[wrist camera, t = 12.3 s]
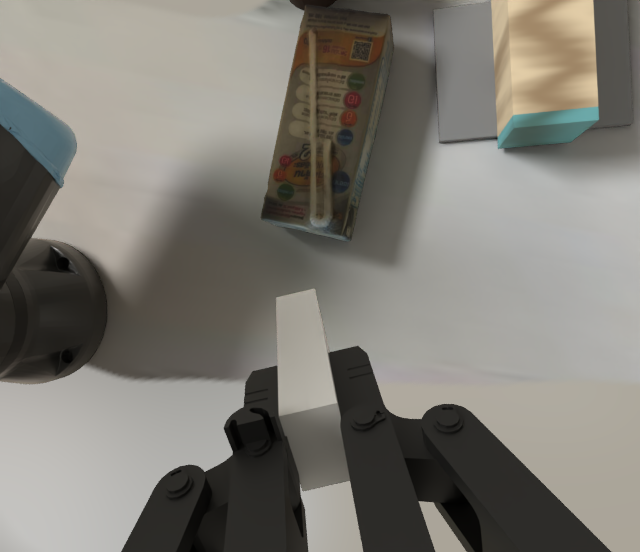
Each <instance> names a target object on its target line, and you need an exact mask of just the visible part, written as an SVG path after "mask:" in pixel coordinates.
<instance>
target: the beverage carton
mask: <svg viewBox="0 0 640 552" xmlns="http://www.w3.org/2000/svg"><path fill="white" fill-rule="evenodd" d="M393 50H394V45H393V34H392V25H391V18H390V16H389V15H388V14H380V13H369V12H364V11H355V10H350V9H336V8H326V7H321V6H313V5H305V11H304V16H303V19H302V22H301V26H300V31H299V36H298V41H297V45H296V49H295V54H294V59H293V63H292V68H291V73H290V78H289V83H288V87H287V92H286V97H285V102H284V107H283V111H282V116H281V121H280V126H279V131H278V136H277V141H276V146H275V150H274V155H273V160H272V165H271V170H270V175H269V181H268V190H267V193H266V195H265V198H264V205H263V209H262V213H261V220H263V221H266V222H269V223H271V224H273V225H275V226H279V227H287V228H293V229H298V230H301V231H305V232H309V233H313V234H318V235H322V236H327V237H331V238H336V239H339V240H343V241H351V237H352V233H353V229H354V225H355V219H356V214H357V209H358V205H359V201H360V197H361V193H362V188H363V184H364V179H365V175H366V171H367V167H368V163H369V159H370V154H371V150H372V146H373V142H374V138H375V134H376V129H377V125H378V121H379V117H380V112H381V108H382V103H383V99H384V94H385V90H386V85H387V81H388V76H389V71H390V65H391V61H392V54H393Z"/></svg>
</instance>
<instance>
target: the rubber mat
mask: <svg viewBox="0 0 640 552" xmlns="http://www.w3.org/2000/svg"><path fill="white" fill-rule="evenodd" d="M593 5H594V26H595V47H596V67H597V88H598V109H599V120H598V121H597V122H596V123H594V124H593V125H592V126H591V127H589V128H588V129H594V128H605V127H616V126H626V125H631V124H632V123H633V106H632V86H631V65H630V45H629V24H628V4H627V0H593ZM433 19H434V40H435V62H436V83H437V104H438V126H439V143H443V142H454V141H464V140H475V139H486V138H497V137H498V136H497V114H496V93H495V72H494V51H493V30H492V9H491V2H484V3H476V4H469V5H462V6H455V7H448V8H441V9H434V11H433Z"/></svg>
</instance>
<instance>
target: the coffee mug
mask: <svg viewBox="0 0 640 552" xmlns="http://www.w3.org/2000/svg"><path fill="white" fill-rule="evenodd" d="M335 1H337V0H290V2H291V3H292V4H294V5H295V6H296V7H298V8H300V9H302V10H305V5H313V6H321V7H326V8H327V7H329V6H330V5H332V4H333V3H334V2H335Z"/></svg>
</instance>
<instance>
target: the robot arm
mask: <svg viewBox="0 0 640 552" xmlns="http://www.w3.org/2000/svg"><path fill="white" fill-rule="evenodd" d="M76 148H77V143H76V138H75V135H74V133H73V131H72V130H71V128H70V127H69V126H68V125H67V124H66V123H64V122H63V121H62V120H60V119H59V118H58V117H56V116H55V115H53V114H52V113H50V112H49V111H47V110H46V109H45V108H43V107H42V106H40V105H39V104H37V103H36V102H34V101H33V100H32V99H30V98H29V97H27V96H26V95H24V94H23V93H21V92H20V91H18V90H17V89H15V88H14V87H13V86H11V85H10V84H8V83H7V82H5V81H4V80H2V79H1V78H0V381H2V382H10V383H20V384H40V383H45V382H49V381H53V380H56V379H59V378H62V377H65V376H68V375H70V374H72V373H74V372H75V371H77V370H78V369H80V368H81V367H82V366H83V365H84V364H85V363H86V362H87V361H88V360H89V359H90V358H91V357H92V355H93V354H94V353H95V351H96V349H97V348H98V346H99V344H100V341H101V339H102V336H103V333H104V330H105V325H106V317H107V305H106V297H105V292H104V289H103V285H102V283H101V280H100V278H99V276H98V274H97V272H96V270H95V269H94V267H93V266H92V265H91V263H90V262H89V261H88V260H87V259H86V258H85V257H84V256H83V255H82V254H81V253H80V252H79V251H77V250H76V249H74V248H73V247H71V246H69V245H67V244H64V243H62V242H59V241H55V240H47V239H37V238H31V237H32V235H33V233H34V232H35V230H36V228H37V226H38V225H39V223H40V221H41V220H42V218H43V216H44V214H45V213H46V211H47V209H48V208H49V206H50V204H51V202H52V201H53V199H54V197H55V195H56V194H57V192H58V190H59V189H60V188H62V187H63V184H64V180H63V178H64V176H65V174H66V172H67V170H68V168H69V166H70V164H71V162H72V160H73V158H74V156H75V153H76ZM276 321H277V364H278V366H274V367H269V368H265V369H261V370H257V371H253V372H252V373H251V375H250V376H249V378H248V380H247V381H246V385H245V397H244V407H243V408H241V409H239V410H238V411H236V412H235V413H234V414H232V415H231V416H230V417H229V419H228V420H227V421H226V424H225V426H224V430H225V433H226V435H227V438H228V440H229V443H230V445H231V448H232V450H233V455H232V456H231V457H230V458H229V459H227V460H226V461H225V462H223V463H221V464H220V465H218V466H216V467H214V468H212V469H210V470H208V471H206V472H204V471H203V470H202V469H201V468H200V467H198V466H195V465H186V466H180V467H178V468H176V469H174V470H172V471H170V472H169V473H168V474H166V475H165V476H164V477H163V478H162V479H161V480H160V481H159V483H158V484H157V485H156V487H155V488H154V490H153V492H152V494H151V496H150V498H149V500H148V502H147V504H146V506H145V508H144V509H143V511H142V513H141V515H140V517H139V519H138V521H137V523H136V525H135V527H134V529H133V530H132V532H131V534H130V536H129V538H128V540H127V542H126V544H125V546H124V548H123V549H122V551H121V552H308V543H307V530H306V519H305V509H304V505H303V502H302V499H301V495H300V484H301V488H302V491H307V490H311V489H315V488H320V487H324V486H328V485H333V484H337V483H342V482H346V481H350V482H351V488H352V492H353V498H354V503H355V508H356V514H357V519H358V525H359V530H360V535H361V541H362V546H363V552H435V550H434V547H433V544H432V541H431V538H430V535H429V532H428V529H427V526H426V523H425V520H424V517H423V514H422V511H421V508H420V505H419V502H418V501H425V502H434V504H435V506H436V508H437V509H438V511H439V512H440V513H441V515H442V516H443V518H444V519H445V521H446V522H447V524H448V525H449V527H450V528H451V529H452V531H453V532H454V534H455V535H456V537H457V538H458V540H459V541H460V542H461V544H462V545H463V547H464V548H465V550H466V551H467V552H611V551H610V550H609V549H608V548H607V547H606V546H605V545H604V544H603V543H602V542H601V541H600V540H599V539H598V538H597V537H596V536H595V535H594V534H593V533H592V532H591V531H590V530H589V529H588V528H587V527H586V526H585V525H584V524H583V523H582V522H581V521H580V520H579V519H578V518H577V517H576V516H575V515H574V514H573V513H572V512H571V511H570V510H569V509H568V508H567V507H566V506H565V505H564V504H563V503H562V502H561V501H560V500H559V499H558V498H557V497H556V496H555V495H554V494H553V493H552V492H551V491H550V490H549V489H548V488H547V487H546V486H545V485H544V484H543V483H542V482H541V481H540V480H539V479H538V478H537V477H536V476H535V475H534V474H533V473H531V471H530V470H529V469H528V468H527V467H526V466H525V465H524V464H523V463H522V462H521V461H520V460H519V459H518V458H517V457H516V456H515V455H514V454H513V453H512V452H511V451H510V450H509V449H508V448H506V447H505V446H504V445H503V444H502V442H500V440H498V439H497V437H495V435H493V433H491V432H490V431H489V430H488V429H487V428H486V427H485V426H484V425H483V424H482V423H481V422H480V421H479V420H478V419H477V418H476V417H475V416H474V415H473V414H472V413H471V412H470V411H468V410H467V409H466V408H464V407H462V406H458V405H454V404H442V405H438V406H434V407H433V408H431V409H429V410H428V411H427V412H426V413H425V414H424V416H423V417H422V419H407V418H401V417H398V416H396V415H394V414H392V413H390V412H389V411H388V410H387V409H386V407H385V405H384V404H383V400H382V397H381V395H380V392H379V388H378V385H377V382H376V379H375V376H374V374H373V370H372V367H371V364H370V361H369V358H368V355H367V353H366V352H365V351H363V350H362V349H361V348H360V347H358V346H355V347H351V348H347V349H342V350H338V351H334V352H330V351H329V346H328V342H327V338H326V333H325V329H324V325H323V321H322V317H321V313H320V309H319V304H318V300H317V296H316V292H315V288H314V289H310V290H306V291H301V292H297V293H293V294H288V295H284V296H280V297H276Z"/></svg>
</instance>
